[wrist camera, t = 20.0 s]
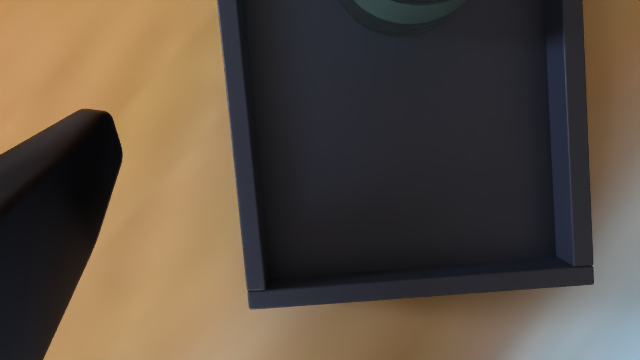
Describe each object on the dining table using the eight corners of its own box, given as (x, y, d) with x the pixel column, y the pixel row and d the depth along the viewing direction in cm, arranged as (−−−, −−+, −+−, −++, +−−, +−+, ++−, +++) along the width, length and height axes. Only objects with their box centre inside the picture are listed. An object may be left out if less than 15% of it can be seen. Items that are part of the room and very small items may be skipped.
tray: (569, 270, 20) (595, 285, 18) (257, 293, 20) (248, 310, 18) (548, -168, 18) (574, -206, 16) (214, -130, 19) (199, -161, 17)
